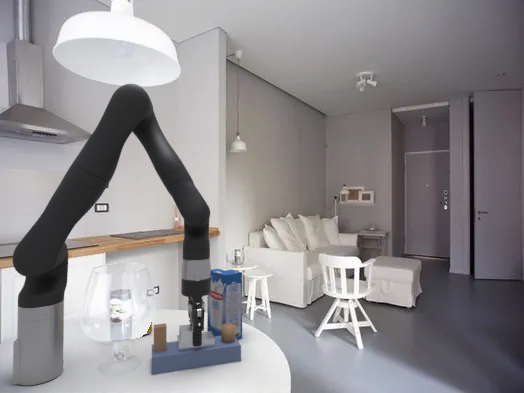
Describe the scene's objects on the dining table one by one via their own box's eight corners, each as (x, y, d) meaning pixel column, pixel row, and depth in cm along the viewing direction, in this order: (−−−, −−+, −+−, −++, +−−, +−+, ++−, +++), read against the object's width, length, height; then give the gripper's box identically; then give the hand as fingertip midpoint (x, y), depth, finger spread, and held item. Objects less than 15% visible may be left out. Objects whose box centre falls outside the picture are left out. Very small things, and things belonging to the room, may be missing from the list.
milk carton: (207, 334, 104) (207, 270, 104) (223, 329, 108) (223, 267, 108) (225, 344, 96) (225, 275, 97) (242, 338, 100) (242, 272, 101)
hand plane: (151, 374, 79) (151, 332, 79) (151, 360, 86) (151, 321, 87) (240, 361, 86) (240, 322, 86) (233, 348, 93) (233, 312, 94)
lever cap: (178, 350, 82) (178, 332, 82) (177, 342, 87) (177, 325, 87) (214, 346, 85) (214, 328, 85) (211, 338, 90) (211, 321, 90)
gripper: (179, 271, 92) (178, 333, 92) (184, 282, 79) (183, 355, 78) (206, 269, 95) (205, 329, 94) (215, 280, 81) (215, 350, 81)
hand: (195, 341), depth 86 cm, fingers closed on lever cap, 5 cm apart
